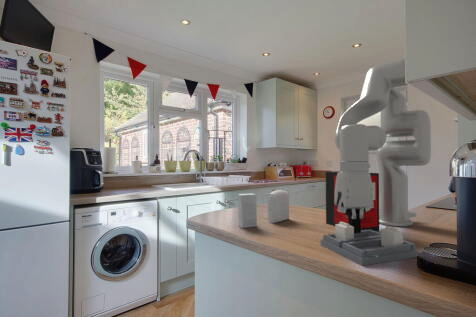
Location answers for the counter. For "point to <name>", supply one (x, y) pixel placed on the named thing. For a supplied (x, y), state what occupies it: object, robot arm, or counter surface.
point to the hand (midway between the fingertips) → (354, 231)
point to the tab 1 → (344, 231)
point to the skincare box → (247, 210)
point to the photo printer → (278, 206)
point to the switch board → (368, 248)
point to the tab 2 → (391, 236)
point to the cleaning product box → (334, 217)
